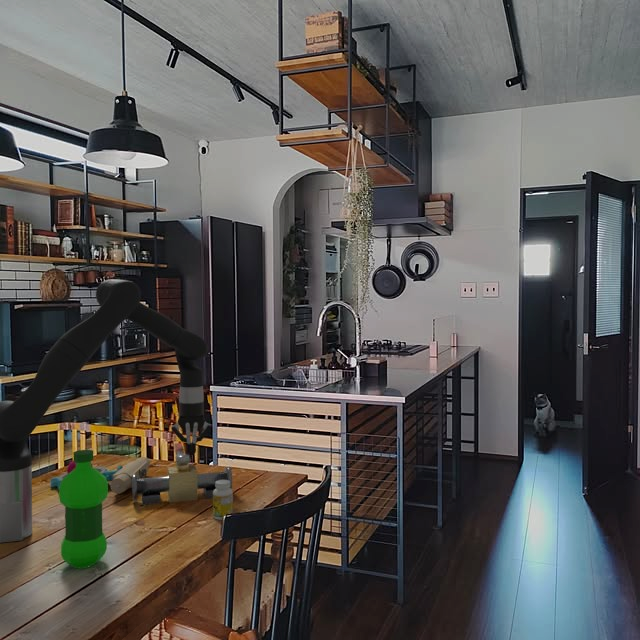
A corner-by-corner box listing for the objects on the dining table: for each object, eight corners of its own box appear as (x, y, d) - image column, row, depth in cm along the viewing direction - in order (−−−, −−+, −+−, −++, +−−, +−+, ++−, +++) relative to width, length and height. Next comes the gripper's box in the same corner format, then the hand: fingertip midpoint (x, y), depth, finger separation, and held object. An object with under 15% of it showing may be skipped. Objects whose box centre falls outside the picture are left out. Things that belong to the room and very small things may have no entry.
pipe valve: (228, 489, 189) (228, 457, 188) (232, 496, 182) (232, 463, 182) (132, 498, 180) (132, 464, 179) (132, 506, 173) (132, 471, 173)
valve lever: (190, 463, 179) (190, 457, 179) (176, 464, 178) (176, 458, 178) (184, 449, 196) (184, 443, 196) (171, 450, 195) (171, 443, 195)
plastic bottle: (67, 554, 141) (66, 446, 140) (114, 553, 141) (113, 446, 141) (51, 574, 131) (50, 458, 130) (102, 572, 131) (101, 457, 131)
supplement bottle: (235, 518, 164) (235, 483, 164) (215, 521, 162) (215, 485, 162) (229, 512, 169) (229, 477, 169) (210, 514, 167) (210, 480, 167)
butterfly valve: (32, 508, 179) (133, 498, 178) (29, 485, 178) (131, 475, 178) (71, 481, 205) (159, 472, 205) (69, 461, 205) (157, 452, 204)
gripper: (169, 403, 188) (169, 458, 188) (213, 401, 191) (213, 456, 191) (169, 399, 195) (169, 452, 196) (211, 397, 198) (211, 450, 199)
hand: (191, 454), depth 193 cm, fingers closed
